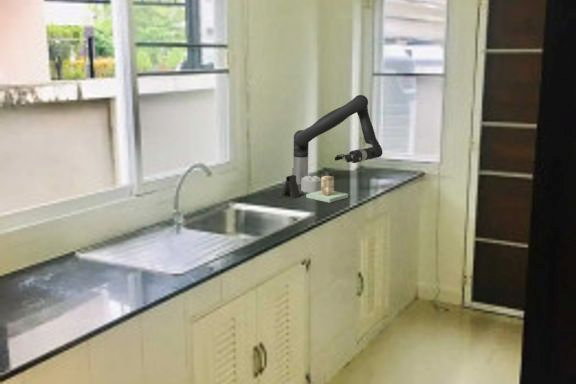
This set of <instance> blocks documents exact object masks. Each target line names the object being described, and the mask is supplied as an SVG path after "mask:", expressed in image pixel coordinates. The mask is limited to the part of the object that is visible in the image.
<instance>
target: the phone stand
mask: <svg viewBox="0 0 576 384" xmlns="http://www.w3.org/2000/svg"><path fill="white" fill-rule="evenodd" d="M298 186H299V185H298V184H297V182H296V176H295V175H292V174H291V175H288V176H286V177H285V183H284V187H283V190H282V193H281V197H285V198H290V197H291V198H290V199H296V198H299V197H301V193H300V189H299V187H298Z"/></svg>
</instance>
